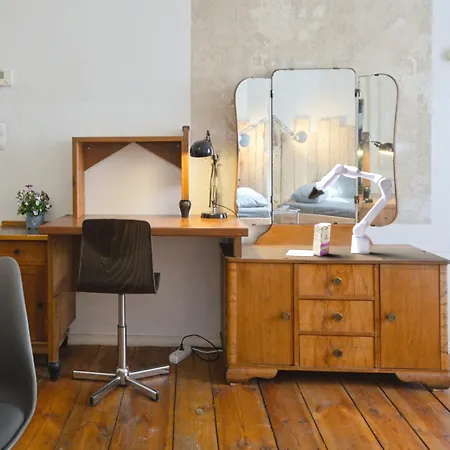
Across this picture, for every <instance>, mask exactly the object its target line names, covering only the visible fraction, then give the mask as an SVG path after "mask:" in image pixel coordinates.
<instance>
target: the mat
mask: <svg viewBox="0 0 450 450" xmlns="http://www.w3.org/2000/svg"><path fill="white" fill-rule="evenodd" d="M285 256H291V257H292V256H293V257H294V256H295V257H314V255H313V250H297V249H296V250H295V249H289V251H288V252H287V253H286V255H285Z"/></svg>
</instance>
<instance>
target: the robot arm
mask: <svg viewBox="0 0 450 450" xmlns="http://www.w3.org/2000/svg"><path fill="white" fill-rule="evenodd" d="M341 176H344V177H347V178H351V179H356V178H362V179H367V180H369V181H370V180H371V181H373V182H374V183H376V184H378V187H379V189H380V190H381V197H380V198H379V199H378V201H377V202H376V203H375V204H374V206H373V207H372V208H371V209H370V210H369V211H368V212H367V214H366V215H365V216H364V217H363V219H362V220H361V221H360V222H359V223H357V224H355V225H354V227H353V228H352V234H353V235H352V236H351V250H350V253H351V254H364V255H365V254H366V255H367V254H368V255H369V254H370V251H371V248H370V240H371V239H370V236H367V235H366V234H365V233H366V230H367V228H368V227H369V226H370V225H371V223H372V222H373V221H374V219H376V217H377V216H378V215H379V214H380V213H381V212H382V210H383V209H384V208H385V207H386V206H387V205H388V203H389V202H390V201H391V199H392V195H393V183H392V181H391V179H390V178H387V177H384V176H383V175H380V174H376V173H370V172H366V171H360V169H359V167H357V166H348V165H347V164H339V163H338V164H336V165H335V166H334V167H333V169H332V170H331V171H330V172H328V174H326V176H324V177H323V178H322V179H321V181H319V182H316V185H317V186H315V185H314V186H313V187H312V190H311V191H310V192H309V194H308V196H307V198H308V200H309V201H310V200H312V201H314V200H316V199H317V198H319V197H320V196H322V195H324V194H325V193H326V191H327V190H328V189H329V188H330V187H331V186H332V185H333V184H334V183H335V182H337V180H338V179H339V178H340V177H341Z"/></svg>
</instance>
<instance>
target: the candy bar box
mask: <svg viewBox="0 0 450 450" xmlns="http://www.w3.org/2000/svg"><path fill="white" fill-rule="evenodd" d="M313 228H314V230H313V232H314V233H313V242H312V243H313V244H312V251H313V256H318V257H322V256H324V255H327V254H329V252H330V241H331V240H330V239H331V230H332V223H327V222H322V223H317V224H314V227H313Z"/></svg>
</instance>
